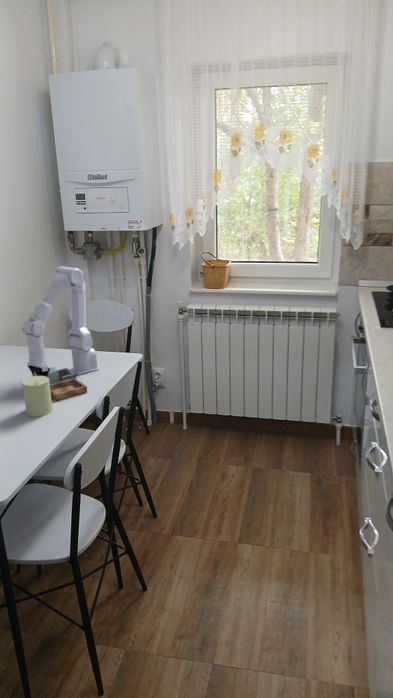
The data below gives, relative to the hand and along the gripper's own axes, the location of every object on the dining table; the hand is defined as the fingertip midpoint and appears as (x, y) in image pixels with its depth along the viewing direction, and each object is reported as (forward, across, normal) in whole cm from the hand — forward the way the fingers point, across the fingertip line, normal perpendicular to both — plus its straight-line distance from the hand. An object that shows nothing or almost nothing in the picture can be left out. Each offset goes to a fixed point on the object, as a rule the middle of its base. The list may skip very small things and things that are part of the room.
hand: (40, 383), depth 212 cm
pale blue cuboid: (+2, 0, +3) cm, 3 cm away
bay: (+2, 0, +10) cm, 10 cm away
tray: (+2, +11, +6) cm, 12 cm away
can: (+2, +20, -8) cm, 22 cm away
